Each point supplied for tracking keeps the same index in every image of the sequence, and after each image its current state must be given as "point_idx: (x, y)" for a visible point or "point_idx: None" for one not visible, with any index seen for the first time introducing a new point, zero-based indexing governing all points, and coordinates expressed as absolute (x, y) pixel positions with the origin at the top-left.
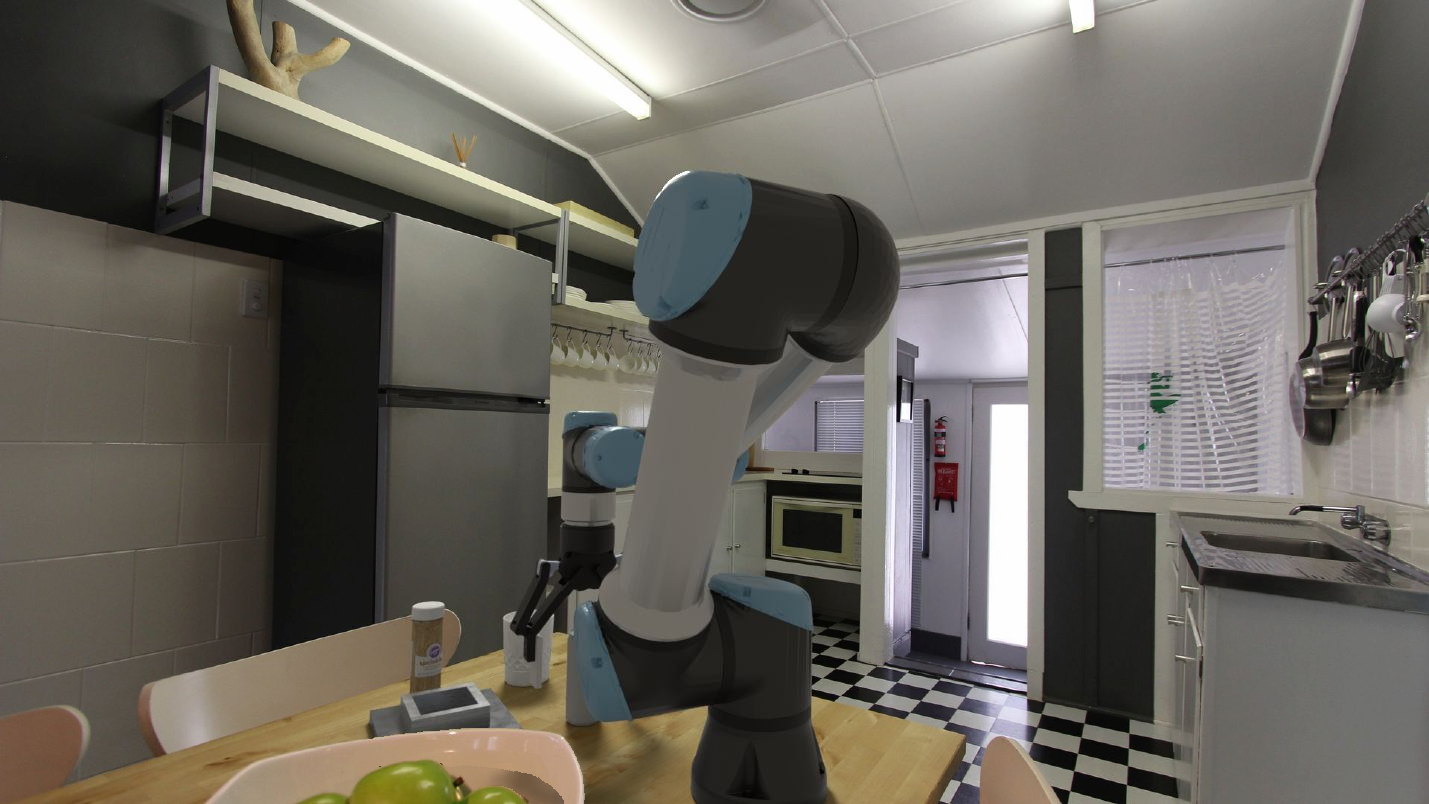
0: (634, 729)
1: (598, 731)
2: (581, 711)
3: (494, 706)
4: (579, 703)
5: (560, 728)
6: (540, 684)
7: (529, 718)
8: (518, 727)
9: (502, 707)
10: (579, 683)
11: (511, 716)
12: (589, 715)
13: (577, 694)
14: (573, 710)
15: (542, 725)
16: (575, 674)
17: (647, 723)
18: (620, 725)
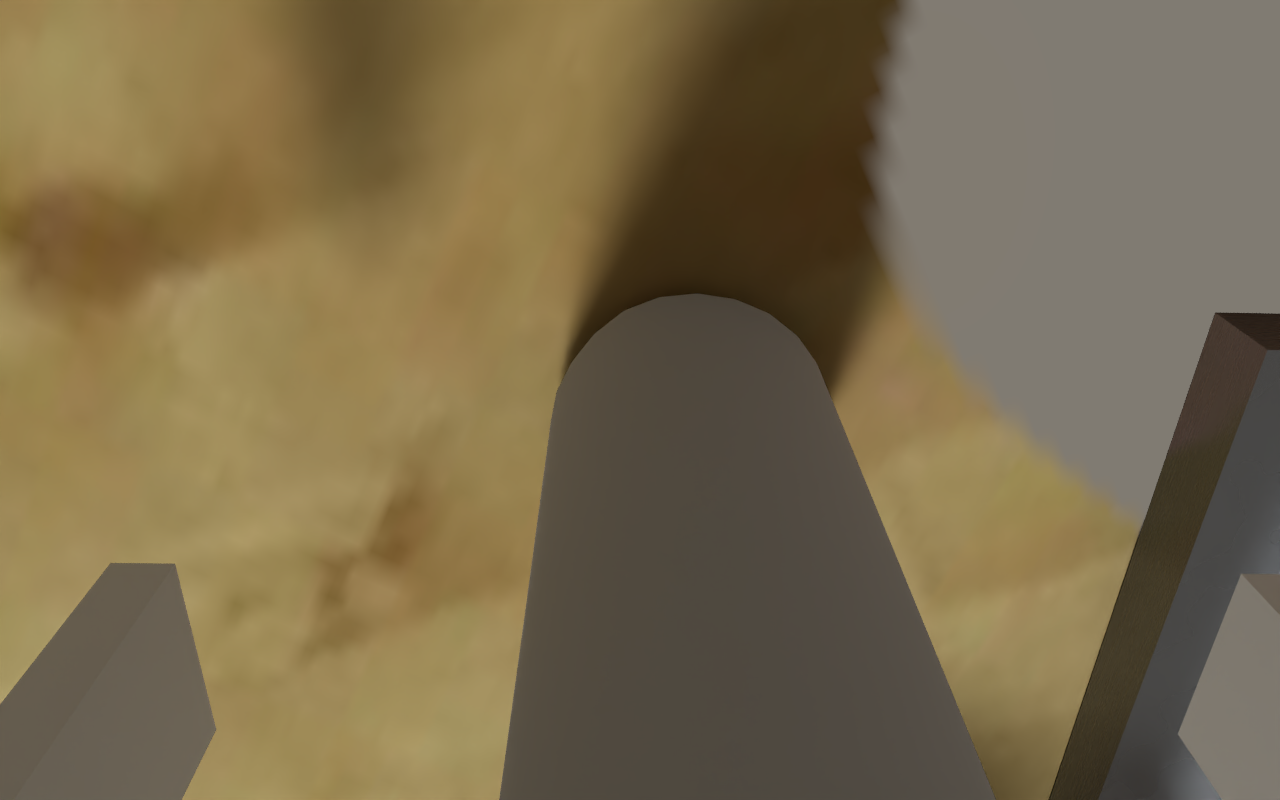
0: (384, 33)
1: (673, 166)
2: (780, 350)
3: (1179, 748)
4: (805, 394)
5: (891, 364)
6: (1274, 597)
7: (978, 595)
8: (1277, 385)
9: (1150, 716)
10: (849, 502)
11: (1194, 572)
12: (707, 315)
13: (836, 450)
14: (829, 397)
15: (967, 466)
16: (905, 595)
17: (233, 84)
18: (466, 174)
